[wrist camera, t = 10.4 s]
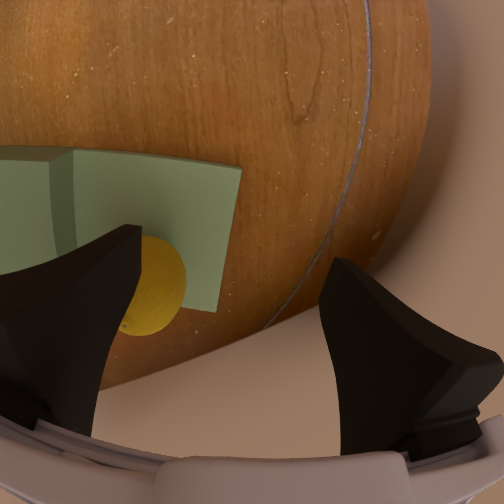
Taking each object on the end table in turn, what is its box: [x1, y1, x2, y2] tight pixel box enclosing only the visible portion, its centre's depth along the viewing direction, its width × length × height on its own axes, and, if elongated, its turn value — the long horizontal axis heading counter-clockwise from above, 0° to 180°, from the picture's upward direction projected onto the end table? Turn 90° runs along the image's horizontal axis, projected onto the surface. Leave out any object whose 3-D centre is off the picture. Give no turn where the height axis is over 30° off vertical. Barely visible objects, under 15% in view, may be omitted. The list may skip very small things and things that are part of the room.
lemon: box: [118, 235, 187, 336], centre depth 18 cm, size 6×6×8 cm
